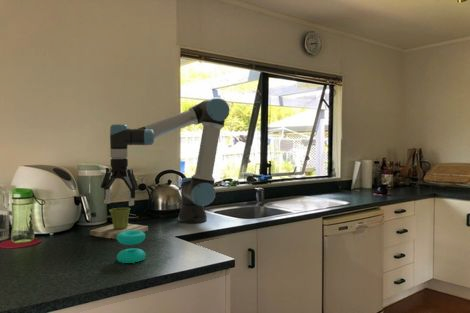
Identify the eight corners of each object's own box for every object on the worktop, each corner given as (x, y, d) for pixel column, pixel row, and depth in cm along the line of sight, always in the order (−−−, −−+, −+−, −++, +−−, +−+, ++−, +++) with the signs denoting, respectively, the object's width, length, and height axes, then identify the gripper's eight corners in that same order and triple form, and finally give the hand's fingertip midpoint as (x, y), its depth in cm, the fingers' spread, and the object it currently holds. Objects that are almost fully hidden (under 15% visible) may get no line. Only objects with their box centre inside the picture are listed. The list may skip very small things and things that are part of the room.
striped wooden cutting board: (148, 232, 180) (147, 226, 180) (120, 241, 164) (120, 234, 164) (118, 228, 188) (118, 222, 188) (90, 237, 172) (90, 230, 171)
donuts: (129, 237, 129) (110, 233, 135) (130, 266, 130) (110, 261, 135) (151, 231, 137) (132, 228, 143) (151, 259, 138) (132, 254, 143)
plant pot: (118, 231, 169) (117, 211, 169) (105, 228, 175) (105, 209, 174) (135, 227, 177) (134, 208, 177) (122, 225, 182) (121, 207, 182)
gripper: (146, 158, 172) (146, 205, 173) (104, 157, 183) (104, 201, 184) (135, 159, 165) (136, 207, 166) (92, 158, 176) (93, 203, 177)
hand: (119, 204), depth 175 cm, fingers open, 13 cm apart
